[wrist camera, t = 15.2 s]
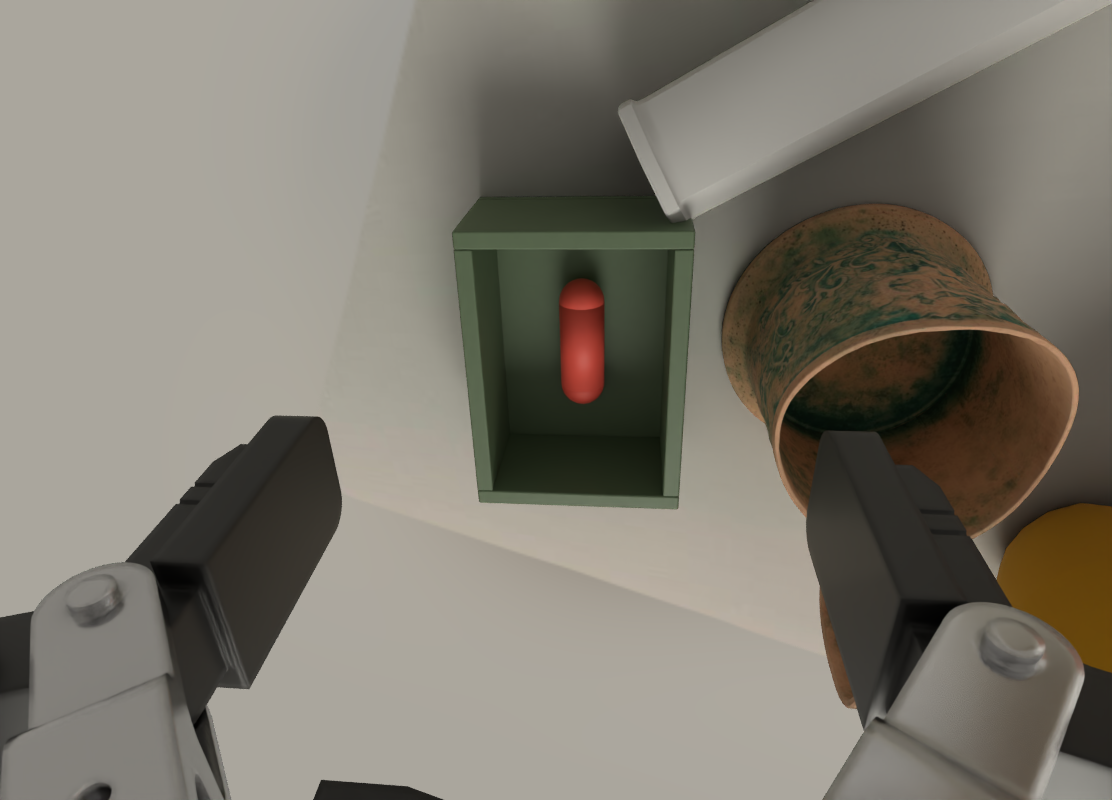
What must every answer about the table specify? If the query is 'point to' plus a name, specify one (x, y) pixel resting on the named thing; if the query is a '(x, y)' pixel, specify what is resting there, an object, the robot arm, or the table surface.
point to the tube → (818, 87)
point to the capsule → (582, 340)
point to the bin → (535, 359)
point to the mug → (896, 363)
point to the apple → (1066, 577)
